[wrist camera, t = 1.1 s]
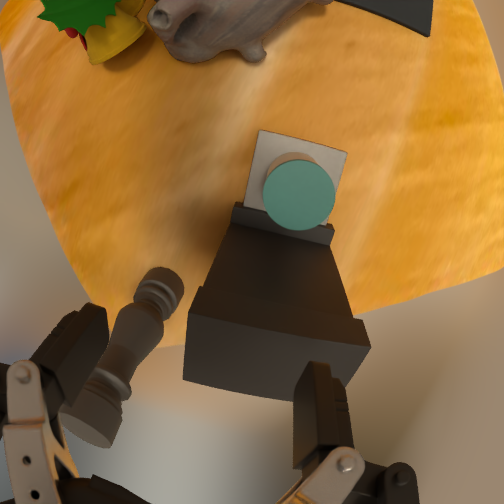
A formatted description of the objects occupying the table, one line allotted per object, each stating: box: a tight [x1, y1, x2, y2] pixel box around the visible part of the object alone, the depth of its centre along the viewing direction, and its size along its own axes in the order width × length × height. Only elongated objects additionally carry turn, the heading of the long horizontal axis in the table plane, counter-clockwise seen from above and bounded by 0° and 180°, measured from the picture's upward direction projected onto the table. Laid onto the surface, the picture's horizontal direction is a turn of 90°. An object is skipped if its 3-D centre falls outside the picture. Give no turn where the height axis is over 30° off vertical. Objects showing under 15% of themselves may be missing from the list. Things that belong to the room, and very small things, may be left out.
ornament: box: [37, 0, 147, 65], centre depth 18 cm, size 21×8×15 cm, turn 16°
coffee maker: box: [183, 130, 371, 402], centre depth 26 cm, size 17×12×20 cm
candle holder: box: [59, 267, 184, 448], centre depth 30 cm, size 6×6×25 cm
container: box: [263, 152, 335, 230], centre depth 28 cm, size 6×6×8 cm
